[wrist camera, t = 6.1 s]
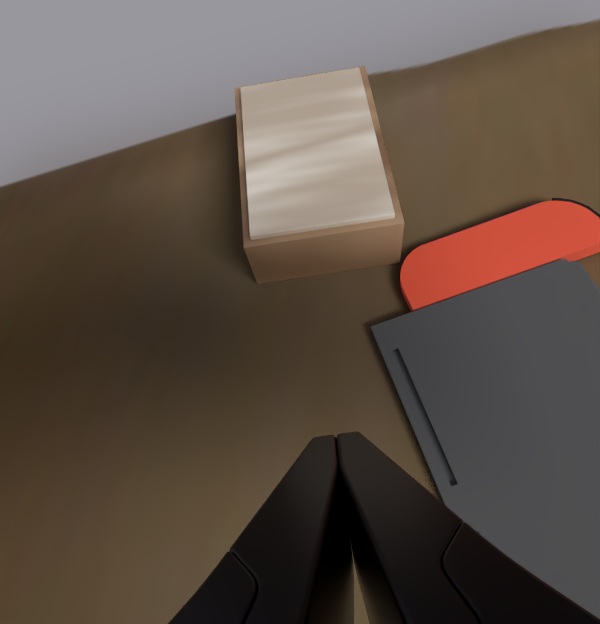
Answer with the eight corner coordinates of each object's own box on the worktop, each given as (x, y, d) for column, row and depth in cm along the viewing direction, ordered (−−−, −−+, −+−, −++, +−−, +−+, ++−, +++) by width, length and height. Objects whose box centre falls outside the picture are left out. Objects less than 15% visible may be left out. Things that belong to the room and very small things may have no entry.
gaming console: (616, 926, 12) (1016, 796, 12) (636, 960, 11) (1071, 817, 11) (349, 282, 21) (571, 203, 21) (347, 269, 20) (580, 186, 20)
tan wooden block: (404, 219, 18) (364, 61, 22) (242, 244, 18) (233, 84, 22) (399, 267, 21) (364, 119, 25) (258, 287, 21) (248, 138, 25)
